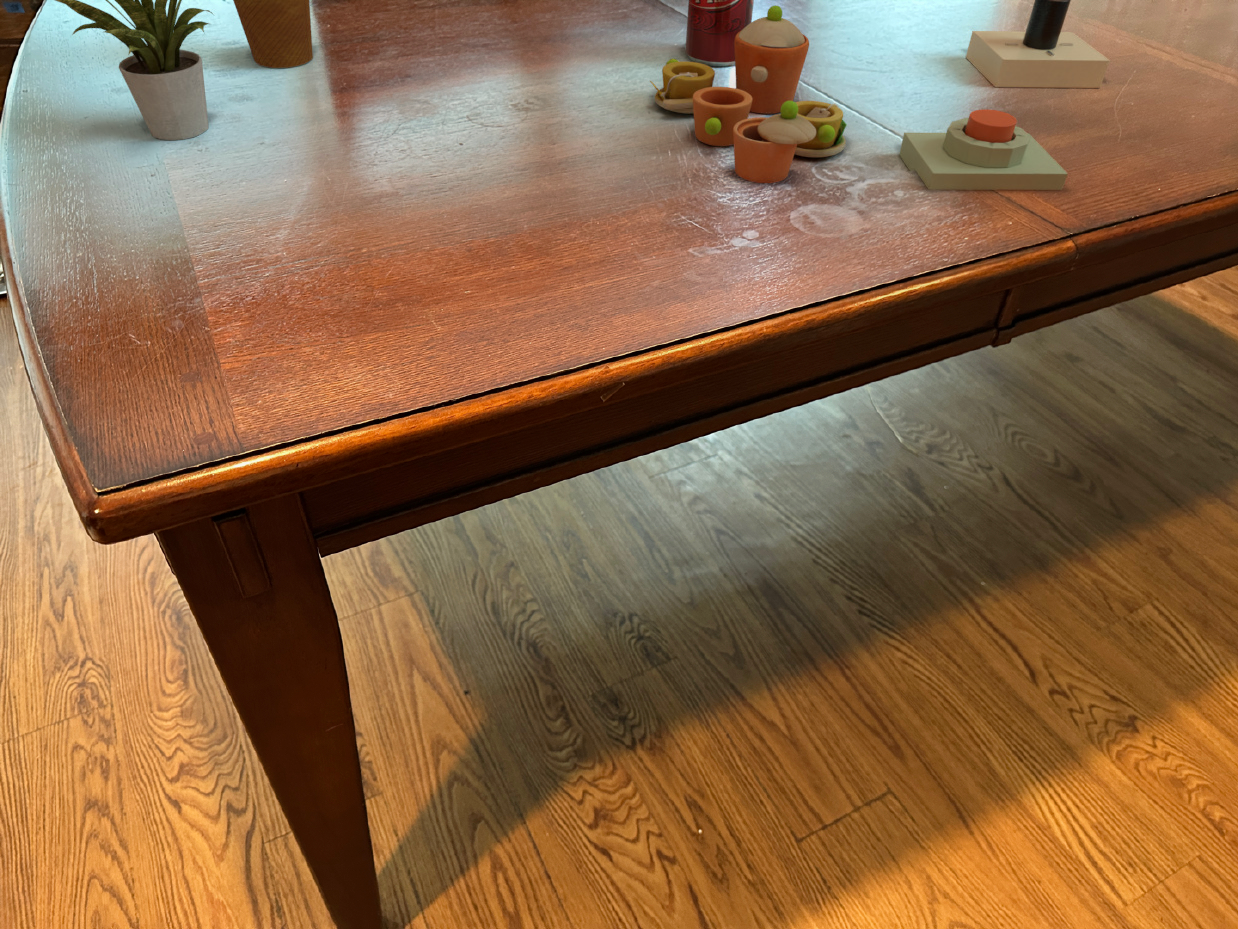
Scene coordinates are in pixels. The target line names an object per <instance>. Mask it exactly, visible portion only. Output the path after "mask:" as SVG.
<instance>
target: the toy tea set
mask: <svg viewBox="0 0 1238 929" xmlns="http://www.w3.org/2000/svg"><path fill="white" fill-rule="evenodd" d="M734 46H735V65H734V67H735V69H734V70H735V87H729V86H714V85H713V84H714V80H715V75H716V72H715V70H714V68H712V66H708V65H705V64H701V63H696V62H694V61H685V60H684V61H679V60H678V59H676V58H670V59H668V60H667V61H666V63H665V65H664V66H662V70H661V72H662V84H663V85H662V86H663V87H662V88H660V89H659V88H658V87H657V85H655V83H654V82H653V81H652V80H649V82H650V83H651V84H652V86H653V87H654V89H655V90H657V91H656V92H655V94H654V102H655V103H656V104H657V105H658V106H660V107H661V108H663V109H664V110H667V111H671V112H674V113H677V114H692V115H693V124H694V135H695V138H696V139H697V140H698V141H699V142H701V143H703V144H705V145H707V146H708V145H709V146H713V147H729V146H733V158H734V160H733V161H734V172H735V174H736V175H737V176H738V177H739V178H741V179H743V180H746V181H748V182H752V183H757V184H775V183H778V182H781V181H784V180H785V179H786V178H788V175H789V172H790V169H791V166H792V163H793V159H794V156H800V157H806V158H825V157H827V158H828V157H831V156H834V155H837V154H840V153H841V152H842V151H843V150H844V149H845V148H846V142H847V141H846V138H845V136H844V135H843V134H844V132H845V129H846V128H847V126H848V125H847V123H846V122H845V120H844V119H843V118H844V111H843V110H842V109H841V108H840V107H839V105H838V104H837V103H835V102H834V103H828V102H824V101H818V100H799V101H794V99H795V96H796V92H797V89H798V85H799V82H800V80H801V79H800V78H801V75H802V71H803V68H804V65H805V62H806V60H807V59H806V58H807V55H808V53H809V48H810V40H809V39H808V37H807V36H806V35H805V34H803V33H802V31H801V30H800V29H799V28H798V27H797V26H796V24H794V23H793V22H792V21H790V20H788V19H786V18H783V9H782V7H781V6H779V5H772V6H770V7H769V8H768V10H767V14H766V16H762V17H760V18H757V19H755V20H752V22H751V23H750V24H749V25H747V26H746V27H745V28H744V29H743V30H742V31H740V32H738V33H737V35H736V36H735V41H734ZM750 112H751V113H756V114H763V115H764V114H766V115H770V116H768V117H767V116H764V117H763V116H759V117H758V116H756V117H751V118H749V115H750Z"/></svg>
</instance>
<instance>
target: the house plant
mask: <svg viewBox="0 0 1238 929" xmlns="http://www.w3.org/2000/svg"><path fill="white" fill-rule="evenodd" d="M54 1H55V2H58V3H61V4H64V5H66V6H67V7H68V8H69V9H71V10H72V11H74V12H75V13H77V14H78V15H80V16H82V17H84V18H86V19H88V20H90V21H92V22H91V23H85V24H82V25H80V26H78V27H76V28H75V29H74V31H73V32H72V34H71V36H73V35H75V34H76V33H77V32H80V31H83V30H88V29H100V30H103V33H106V34H110V35H111V36H113V37H115V38H116V39H118V40H119V41H120V42H121V43H122V44H124V45H125V46H126V47H127V49H128V57H126V58H124V59H122V60H121V61H120V62H119V64H118V70H119V72H120V73H121V76H122V77H123V80H124V82H125V83H126V86H127V88H128V90H129V92H130V93H131V96H132V98H133V99H134V102H135V104H136V106H137V108H138V110H139V112H140V114H141V116H142V118H143V120H144V122H145V125H146V126H147V128H148V130H149V133H150V134H151V136H152V137H154V138H156V139H159V140H164V141H181V140H187V139H192V138H196V137H198V136H201V135H202V134H203V133H205V132H206V131H208V130H209V118H208V116H209V115H208V108H207V106H208V105H207V98H206V97H207V96H206V88H205V86H206V85H205V78H204V67H203V58H202V56H201V55H199V54H198V53H196V52H194V51H190V50H185V49H181V47H182V45H183V42H184V41H185V39H186V38H188V36H189V35H190V34H192V33H193V32H195V31H197V30H198V29H200V30H201V31H202V32H203V35H204V34H205V30H204V27H205V26H206V25H207V26H208V25H210V23H209V22H206V21H202V20H201V21H200V20H198V21H191V20H192V19H193V18H194V17H195V16H197V15H199V14H200V13H203V12H208V13H210V14H211V15H214V13H213V12H212V11H210V10H209V9H202V8H198V7H188V8H187V9H184V10H183V11H182V13H181V14H179V10H180V7H181V4H182V1H183V0H155V1H153V0H114V2H115V3H116V4H118V5H119V7H120V8H121V9H122V10H123V11H124V12H125V13H126V15H127V16H128V17H129V19H130V20H131V21H132V22H131V21H129V19H128V18H127V17H126V16H125V15H124V14H123V13H122V12H121V11H120V10H119V9H118V8H117V7H116V6H115V5H114V4H113V3H112V2H111V1H109V0H105V1H106V2H107V3H108V4H109V5H110V6H111V7H112V8H113V9H115V11H117V12H118V14H120V15H121V16H122V17H123V18H124V19H125V21H127V22H128V23H129V24H130V25H131V27H133V28H131V27H129V25H126V24H125V23H124V22H122V21H121V20H119V19H118V18H116V17H115V16H114V15H112V14H111V13H109V12H106V11H105V10H102V9H100V8H98V7H95V6H93V5H91V4H88V3H85V2H84V1H80V0H54ZM167 4H168V9H167ZM178 15H179V16H178ZM177 17H178V18H177ZM212 25H213V26H214V24H212ZM131 53H132V55H130V54H131Z"/></svg>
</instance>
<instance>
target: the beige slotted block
mask: <svg viewBox="0 0 1238 929" xmlns="http://www.w3.org/2000/svg"><path fill="white" fill-rule="evenodd" d="M1025 32H1026V31H1025V30H1024V31H1019V30H1016V31H1015V30H1014V31H1013V30H1011V31H1009V30H1007V31H1006V30H972V32H971V35H970V40H969V43H968V48H967V50H966V54H965V58H966V59H967V61H968V62H970V64H972V66H974V68H975V69H976V70H978V72H980V73H981V75H983V77H984V78H985V79H986V80H987V81H988V82H989V83H990V84H992V86H994V88H1043V89H1044V88H1047V89H1049V88H1051V89H1052V88H1053V89H1055V88H1057V89H1059V88H1061V89H1064V88H1065V89H1068V88H1069V89H1101V86H1102V84H1103V80H1104V78H1105V75H1106V72H1107V70H1108V67H1109V63H1110V62H1111V60H1110V59H1109V58H1107V57H1106V56H1105V55H1103V54H1102V53H1101V52H1099V51H1098V50H1097V49H1095V48H1094V47H1092V45H1090V44H1089V43H1088V42H1086V41H1085V40H1084V39H1083V38H1081V37H1080V36H1078V35H1077V34H1075V33H1074V32H1073V31H1061V32H1060V36H1059V39H1058V42H1057V45H1056V47H1055V48H1054V49H1047V50H1045V49H1035V48H1031V47H1028V46H1026V45H1024V44H1023V39H1024V36H1025Z"/></svg>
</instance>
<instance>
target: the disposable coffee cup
mask: <svg viewBox="0 0 1238 929" xmlns="http://www.w3.org/2000/svg"><path fill="white" fill-rule="evenodd" d="M232 1H233V5H234V6H235V10H236V12H237V13H236V14H237V15H238V19H239V21H240V24H241V27H242V29H243V33H244V36H245V38H246V41H247V44H248V46H249V49H250V53H251V55H252V58H253V61H254V63H255V64H256V65H258V66H261V67H264V68H270V69H271V68H273V69H288V68H294V67H298V66H302V65H306V64H307V63H309V62H310V61H312V60H313V58H314V54H313V38H312V37H313V36H312V22H311V20H312V19H311V7H310V5H311V4H310V0H232Z"/></svg>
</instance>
